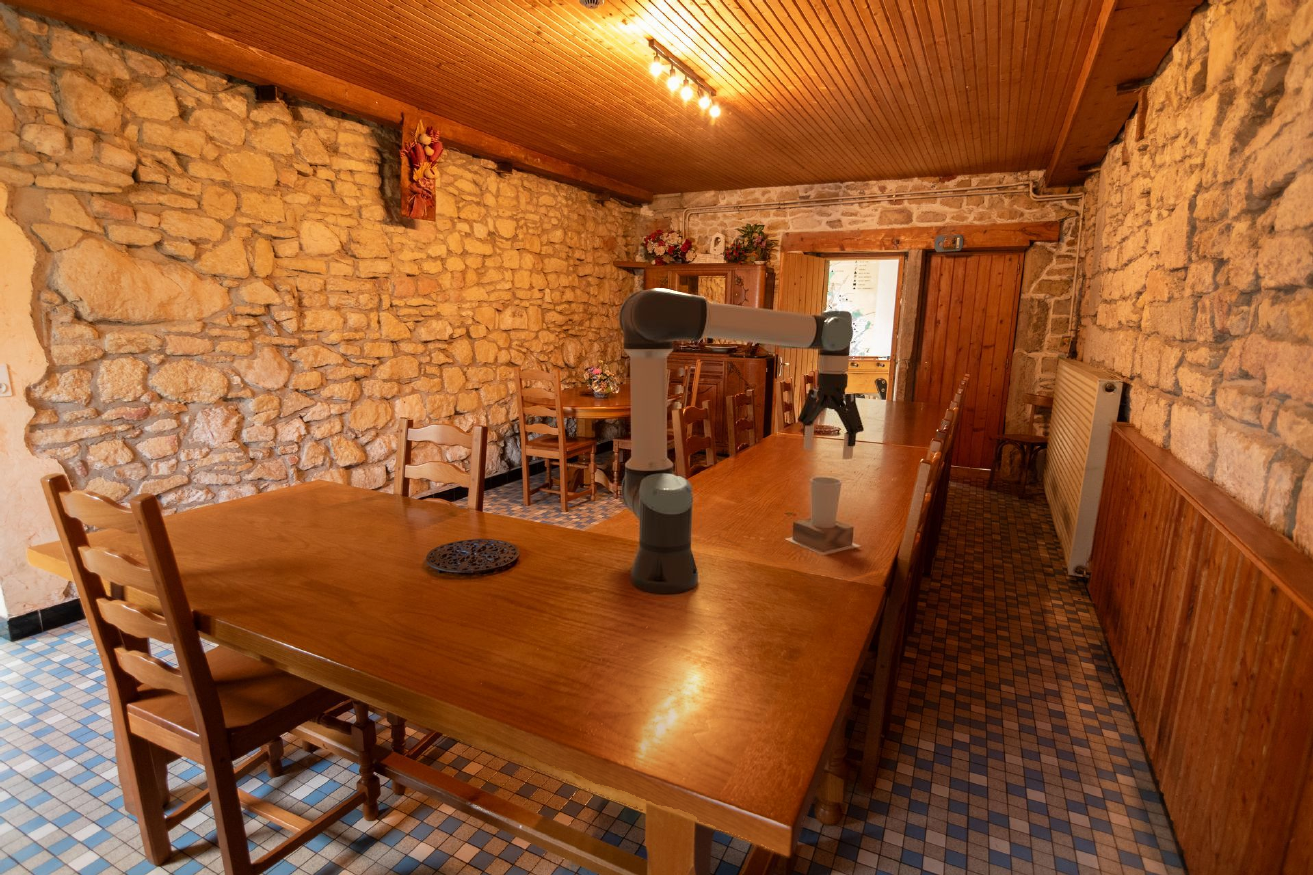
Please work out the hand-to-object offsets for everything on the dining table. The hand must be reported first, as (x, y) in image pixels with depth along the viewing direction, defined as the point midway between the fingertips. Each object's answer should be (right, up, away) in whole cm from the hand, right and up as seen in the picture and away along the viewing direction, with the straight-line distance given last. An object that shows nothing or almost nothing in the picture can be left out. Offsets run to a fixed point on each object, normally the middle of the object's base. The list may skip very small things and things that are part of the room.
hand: (827, 454), depth 160 cm
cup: (0, -19, +3) cm, 19 cm away
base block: (0, -24, +4) cm, 24 cm away
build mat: (0, -24, +4) cm, 25 cm away
